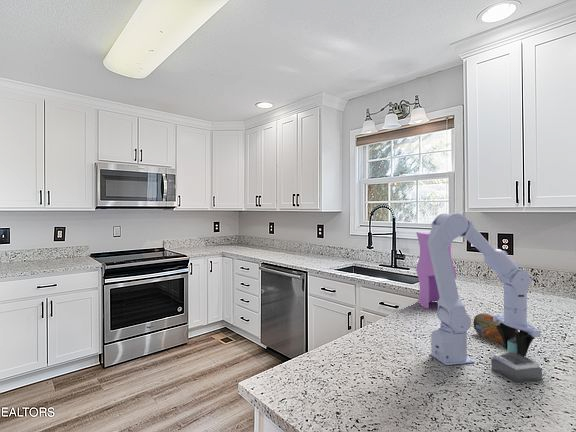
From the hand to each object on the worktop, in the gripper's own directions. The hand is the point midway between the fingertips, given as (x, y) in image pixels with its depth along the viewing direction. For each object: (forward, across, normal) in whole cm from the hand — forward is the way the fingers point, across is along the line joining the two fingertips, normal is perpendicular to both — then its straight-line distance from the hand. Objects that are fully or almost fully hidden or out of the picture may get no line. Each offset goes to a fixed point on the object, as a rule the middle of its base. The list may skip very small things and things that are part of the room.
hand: (515, 352), depth 98 cm
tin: (+2, +14, -6) cm, 15 cm away
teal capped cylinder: (+2, 0, 0) cm, 2 cm away
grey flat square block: (+2, -8, +8) cm, 11 cm away
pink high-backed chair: (+2, +58, -13) cm, 59 cm away
